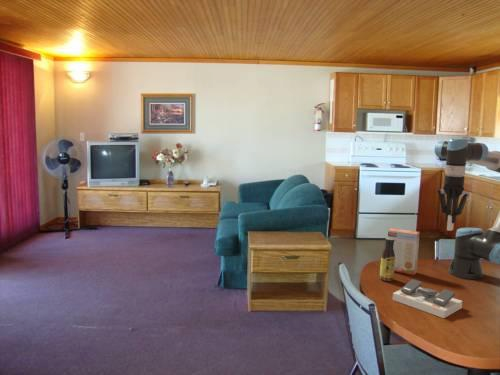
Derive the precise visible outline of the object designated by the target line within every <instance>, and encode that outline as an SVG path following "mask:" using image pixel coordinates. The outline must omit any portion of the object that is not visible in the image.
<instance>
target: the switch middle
mask: <svg viewBox="0 0 500 375" xmlns="http://www.w3.org/2000/svg"><path fill="white" fill-rule="evenodd" d="M421 288H422V289H417V292H418V293H421V294H424V295H438V293H439V291H438V290H434V289H431V288H428V287H427V288H426V287H425V288H424V287H421Z"/></svg>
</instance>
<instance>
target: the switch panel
mask: <svg viewBox="0 0 500 375" xmlns="http://www.w3.org/2000/svg"><path fill="white" fill-rule="evenodd" d="M422 288H423V287H421V286H420V287H419V288H418V289H422ZM439 293H440V292H438V294H439ZM436 296H437V295H424V294H421V293H418V292H417V290H416V291H415V292H413V293H412V294H411V295H409V294H406V293H403V292H401V289H399V290H396V291H395V292H392V301H395V302H398V303H400V304H403V305H406V306H409V307H411V308H414V309H417V310H420V311H422V312H425V313H428V314H430V315H434V316H437V317H439V318H442V319H445V318H447V317H449V316H450V315H452V314H454V313H455V312H457V311H459V310H461V309H462V308H463V300H460V299H457V298H454V297H453V298H452V299H451V300H450V301H449V302H448V303H447V304H446V305H445V306H441V305H438V304H436V303H433V299H434V298H435V297H436Z"/></svg>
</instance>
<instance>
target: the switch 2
mask: <svg viewBox="0 0 500 375" xmlns="http://www.w3.org/2000/svg"><path fill="white" fill-rule="evenodd" d="M438 293H439V294H438V295H437V296H436V297H435V298H434V299H433V303H436V304H438V305H441V306H445V305H446V304H447V303H448V302H449V301H450V300H451V299H452V298H454V297H455V296H456V292H455V291H452V290H449V289H446V288H444V289H442V290H441V291H440V292H438Z"/></svg>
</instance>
